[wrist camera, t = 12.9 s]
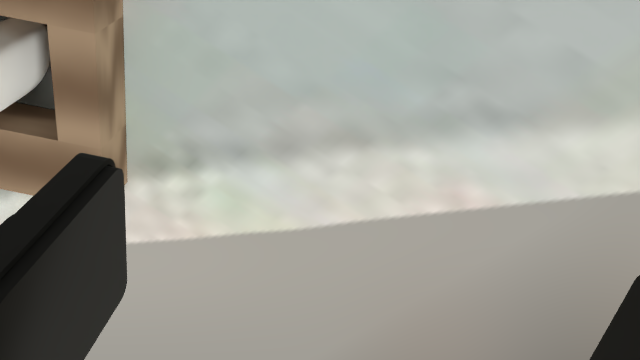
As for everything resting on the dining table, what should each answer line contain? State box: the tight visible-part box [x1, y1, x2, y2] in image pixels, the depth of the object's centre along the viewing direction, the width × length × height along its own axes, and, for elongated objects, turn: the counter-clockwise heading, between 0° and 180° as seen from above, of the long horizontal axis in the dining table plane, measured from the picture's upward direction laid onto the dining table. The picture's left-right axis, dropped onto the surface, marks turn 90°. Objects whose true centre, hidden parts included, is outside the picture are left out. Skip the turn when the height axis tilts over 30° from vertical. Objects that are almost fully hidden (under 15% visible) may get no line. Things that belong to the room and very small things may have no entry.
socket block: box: [0, 0, 127, 196], centre depth 39 cm, size 18×14×4 cm
